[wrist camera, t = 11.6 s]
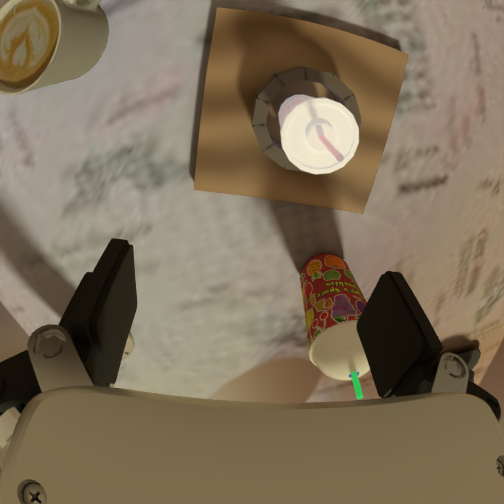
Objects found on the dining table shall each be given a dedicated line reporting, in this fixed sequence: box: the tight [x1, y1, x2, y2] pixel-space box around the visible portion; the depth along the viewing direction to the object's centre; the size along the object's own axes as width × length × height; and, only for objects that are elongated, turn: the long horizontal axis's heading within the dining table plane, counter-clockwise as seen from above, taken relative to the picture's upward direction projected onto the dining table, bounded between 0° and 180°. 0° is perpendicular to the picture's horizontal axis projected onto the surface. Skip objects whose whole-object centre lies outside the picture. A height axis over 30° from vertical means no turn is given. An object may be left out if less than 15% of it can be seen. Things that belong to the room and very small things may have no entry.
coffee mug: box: [0, 0, 109, 95], centre depth 19 cm, size 13×10×10 cm
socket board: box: [194, 7, 408, 214], centre depth 28 cm, size 20×20×5 cm
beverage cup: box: [278, 95, 359, 174], centre depth 23 cm, size 6×6×14 cm
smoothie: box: [300, 253, 370, 399], centre depth 34 cm, size 8×8×20 cm
